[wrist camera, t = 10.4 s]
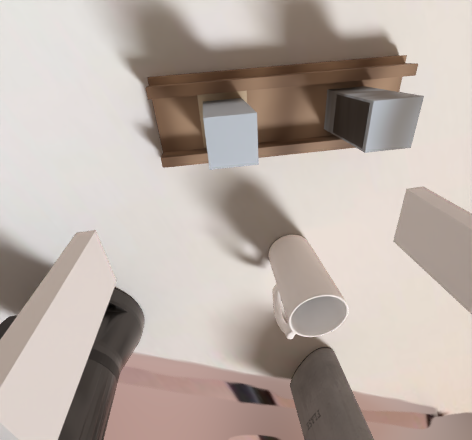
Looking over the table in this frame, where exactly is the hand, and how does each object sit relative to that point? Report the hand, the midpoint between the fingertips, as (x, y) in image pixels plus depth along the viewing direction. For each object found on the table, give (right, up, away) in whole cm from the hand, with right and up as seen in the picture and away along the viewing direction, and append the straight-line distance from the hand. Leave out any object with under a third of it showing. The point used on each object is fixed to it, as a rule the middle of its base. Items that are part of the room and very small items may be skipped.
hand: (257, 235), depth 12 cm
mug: (+6, -5, +29) cm, 31 cm away
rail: (+4, +13, +18) cm, 23 cm away
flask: (+14, -30, +45) cm, 56 cm away
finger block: (-2, +11, +17) cm, 21 cm away
